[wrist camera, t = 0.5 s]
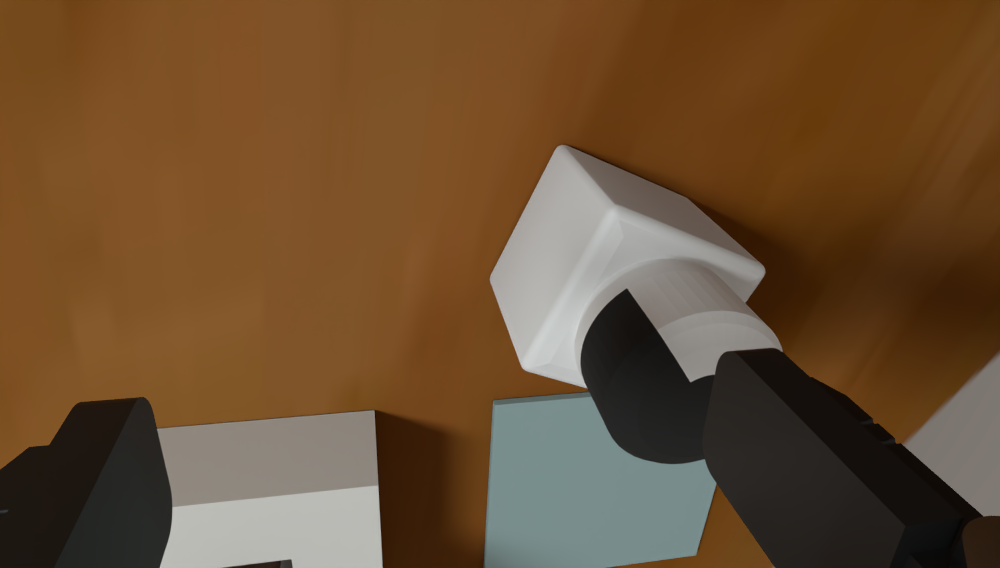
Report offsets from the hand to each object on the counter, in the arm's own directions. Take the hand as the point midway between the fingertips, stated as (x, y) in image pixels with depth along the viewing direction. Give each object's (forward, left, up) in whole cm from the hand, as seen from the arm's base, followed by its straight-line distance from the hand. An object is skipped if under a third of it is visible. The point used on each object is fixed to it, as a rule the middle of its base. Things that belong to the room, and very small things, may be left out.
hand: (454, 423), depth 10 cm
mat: (+23, +12, -19) cm, 32 cm away
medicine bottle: (+7, +9, -19) cm, 22 cm away
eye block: (+23, -8, -19) cm, 31 cm away
